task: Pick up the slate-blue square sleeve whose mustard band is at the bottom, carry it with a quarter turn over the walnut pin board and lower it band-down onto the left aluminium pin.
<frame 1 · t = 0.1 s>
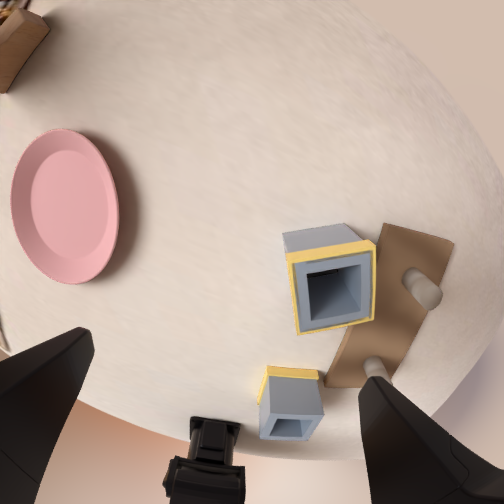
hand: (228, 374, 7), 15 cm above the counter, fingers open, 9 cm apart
pin board: (387, 318, 24), on the counter
wooden block: (22, 54, 14), on the counter
sleeve band up: (316, 257, 22), on the counter
sleeve band down: (286, 384, 27), on the counter
plate: (67, 205, 21), on the counter
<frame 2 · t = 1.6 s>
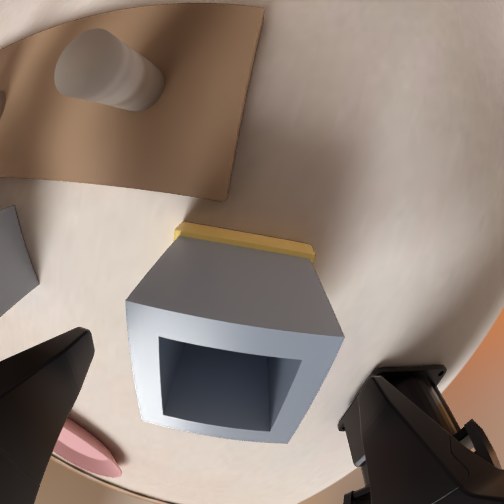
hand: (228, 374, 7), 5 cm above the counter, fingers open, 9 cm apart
pin board: (61, 97, 9), on the counter
sleeve band up: (6, 252, 12), on the counter
sleeve band down: (236, 290, 12), on the counter
plate: (71, 433, 20), on the counter
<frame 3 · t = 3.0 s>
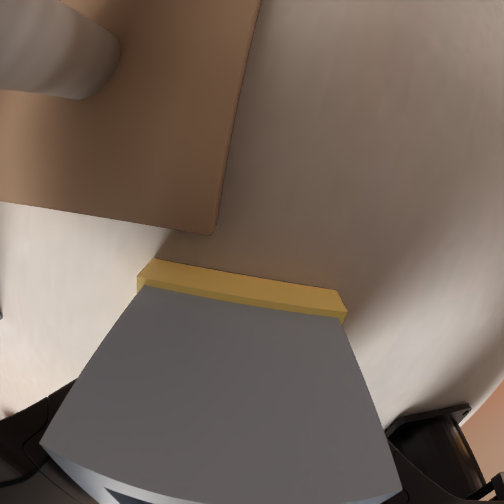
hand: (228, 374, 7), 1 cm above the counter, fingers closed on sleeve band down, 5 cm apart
pin board: (9, 91, 5), on the counter
sleeve band down: (231, 348, 9), on the counter, touching gripper
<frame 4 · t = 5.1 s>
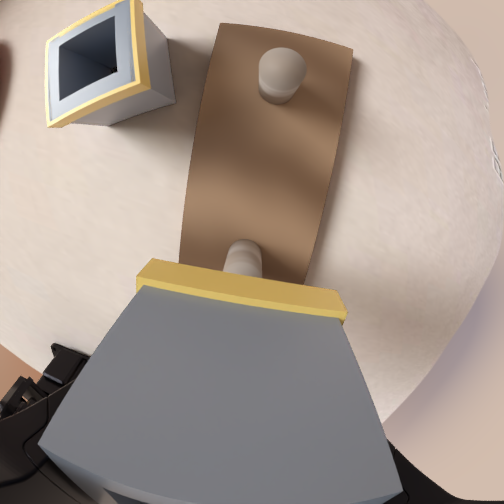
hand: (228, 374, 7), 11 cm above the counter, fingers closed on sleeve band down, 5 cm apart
pin board: (260, 170, 16), on the counter
sleeve band up: (135, 80, 14), on the counter
sleeve band down: (231, 348, 8), point 10 cm above the counter, touching gripper
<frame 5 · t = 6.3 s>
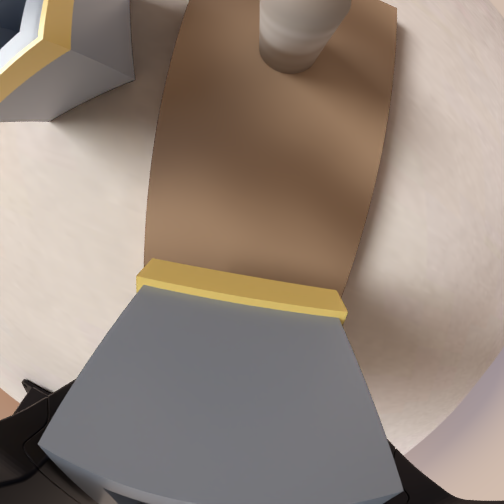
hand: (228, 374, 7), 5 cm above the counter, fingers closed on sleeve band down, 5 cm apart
pin board: (261, 179, 10), on the counter
sleeve band up: (84, 55, 8), on the counter
sleeve band down: (231, 348, 8), point 3 cm above the counter, touching gripper
when the fingers open (3 cm above the counter, at t = 7.4 s): sleeve band down drops 1 cm, resting on pin board.
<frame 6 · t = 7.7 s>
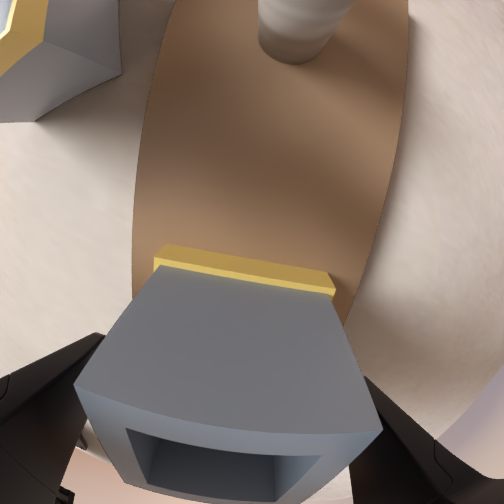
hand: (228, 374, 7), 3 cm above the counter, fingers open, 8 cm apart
pin board: (261, 183, 9), on the counter
sleeve band up: (69, 50, 7), on the counter
sleeve band down: (234, 325, 10), point 1 cm above the counter, touching pin board
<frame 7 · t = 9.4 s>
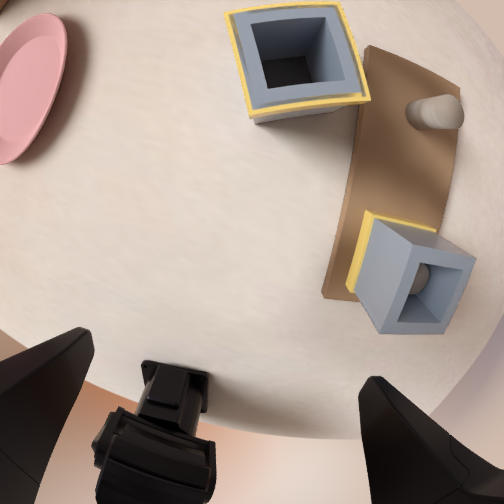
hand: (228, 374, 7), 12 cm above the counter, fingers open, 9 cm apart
pin board: (399, 182, 17), on the counter
sleeve band up: (285, 81, 14), on the counter
sleeve band down: (388, 254, 17), point 1 cm above the counter, touching pin board
plate: (25, 87, 14), on the counter
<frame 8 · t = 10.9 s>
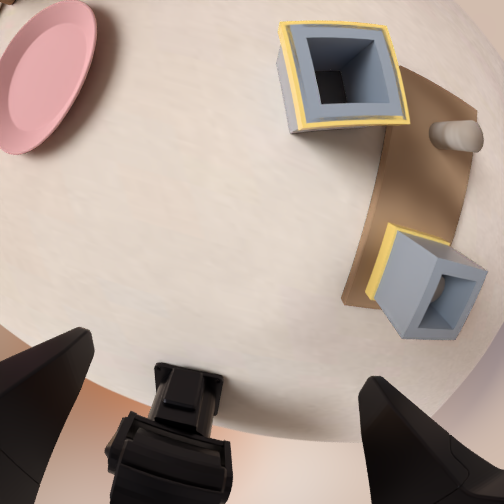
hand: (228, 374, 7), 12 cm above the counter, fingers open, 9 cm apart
pin board: (418, 197, 17), on the counter
sleeve band up: (320, 94, 15), on the counter
sleeve band down: (405, 264, 18), point 1 cm above the counter, touching pin board
plate: (44, 75, 14), on the counter
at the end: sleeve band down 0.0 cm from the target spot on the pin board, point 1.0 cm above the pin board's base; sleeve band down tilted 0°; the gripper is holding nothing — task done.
